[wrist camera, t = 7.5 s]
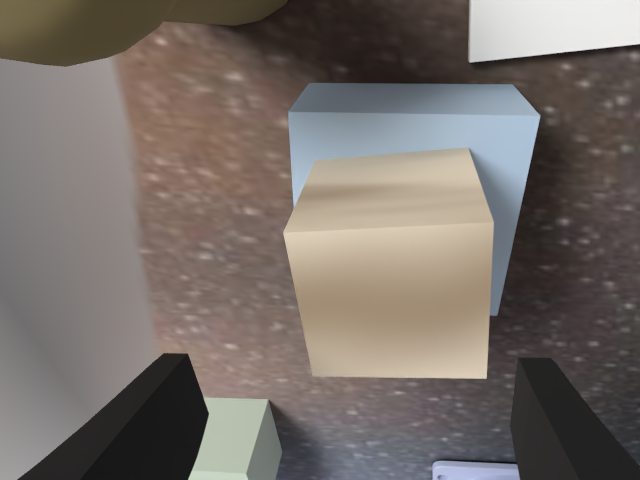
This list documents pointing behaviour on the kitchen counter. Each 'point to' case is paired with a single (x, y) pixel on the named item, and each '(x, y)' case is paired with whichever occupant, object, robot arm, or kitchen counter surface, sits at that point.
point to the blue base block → (425, 139)
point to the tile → (549, 27)
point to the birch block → (394, 266)
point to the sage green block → (238, 441)
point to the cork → (106, 25)
